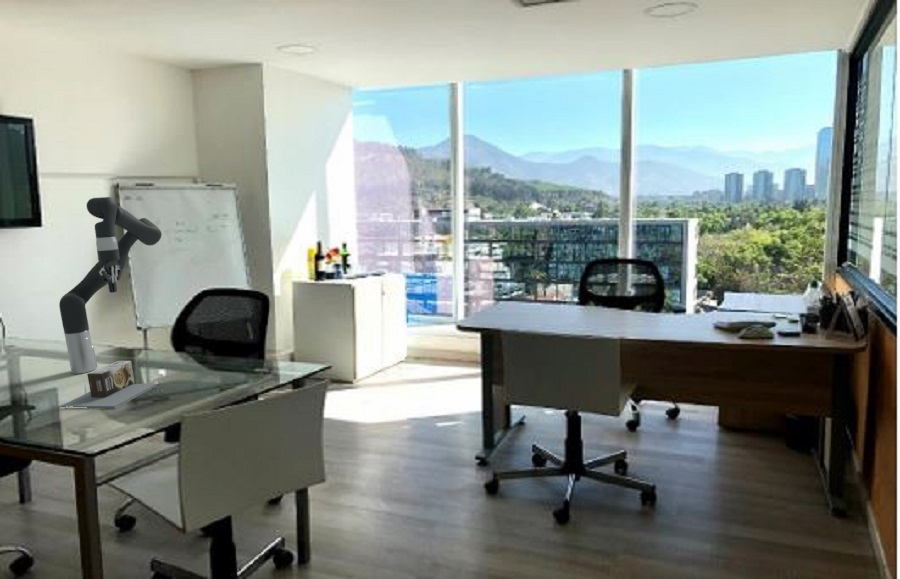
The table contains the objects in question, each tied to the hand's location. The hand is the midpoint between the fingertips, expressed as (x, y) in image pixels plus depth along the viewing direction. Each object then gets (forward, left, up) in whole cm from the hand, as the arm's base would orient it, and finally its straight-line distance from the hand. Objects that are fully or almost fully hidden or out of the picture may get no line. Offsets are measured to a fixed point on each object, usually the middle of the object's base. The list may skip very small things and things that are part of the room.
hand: (113, 292), depth 271 cm
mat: (+26, +12, -35) cm, 45 cm away
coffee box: (+13, +10, -29) cm, 33 cm away
